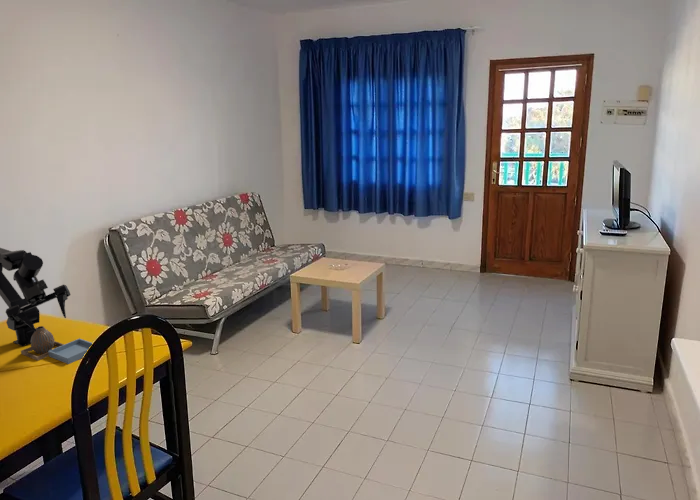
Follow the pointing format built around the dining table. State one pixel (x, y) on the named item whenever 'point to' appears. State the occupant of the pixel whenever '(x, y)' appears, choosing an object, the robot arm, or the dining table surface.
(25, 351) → the walnut frame
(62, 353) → the slate tray
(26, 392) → the dining table surface
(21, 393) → the dining table surface
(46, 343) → the vase
